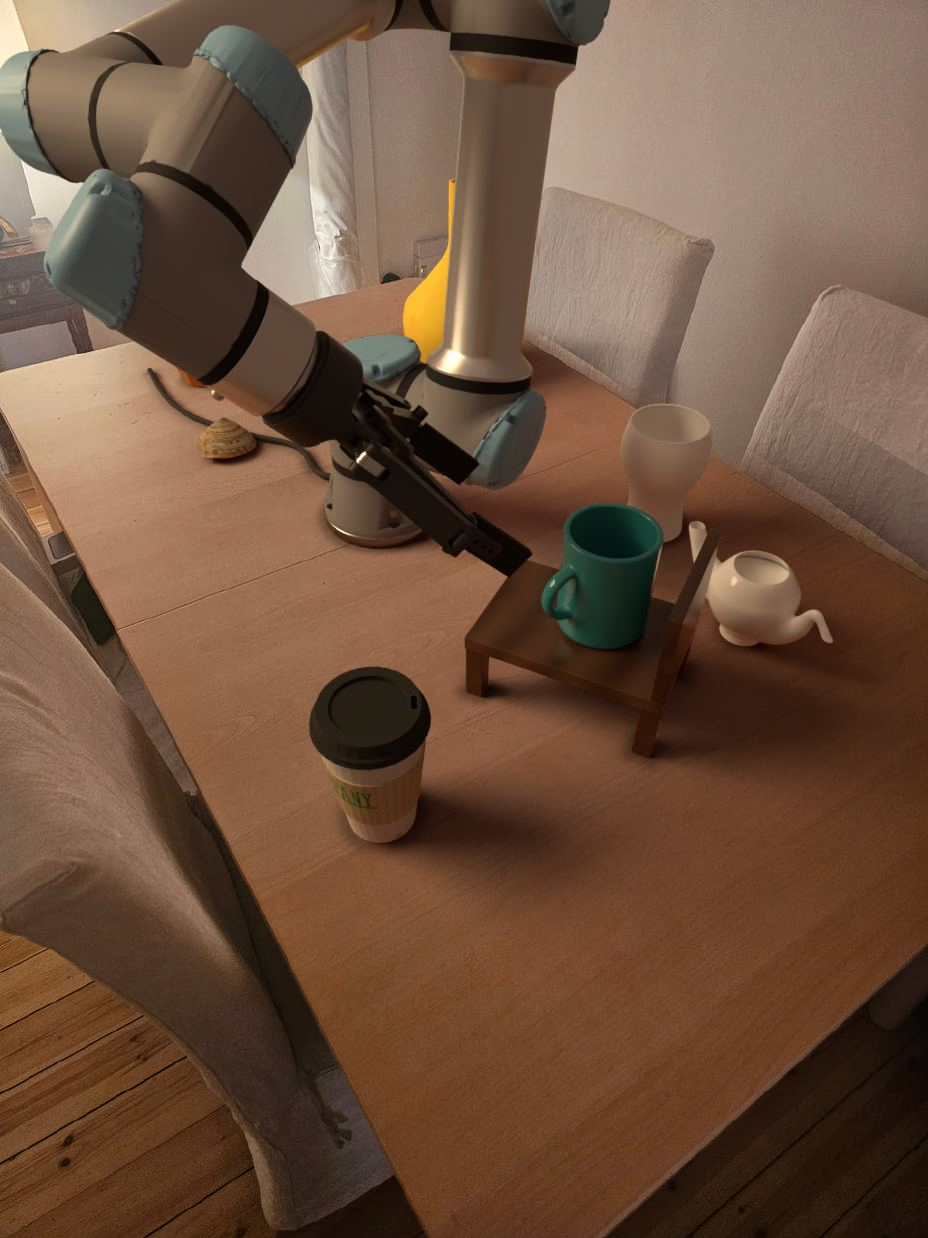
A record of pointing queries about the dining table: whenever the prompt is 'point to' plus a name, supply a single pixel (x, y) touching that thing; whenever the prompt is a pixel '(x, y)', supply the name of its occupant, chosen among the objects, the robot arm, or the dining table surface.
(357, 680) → the coffee cup
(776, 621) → the teapot
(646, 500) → the cup
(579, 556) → the cup
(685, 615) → the wooden toy chair
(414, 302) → the vase
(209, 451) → the seashell
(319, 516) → the dining table surface
